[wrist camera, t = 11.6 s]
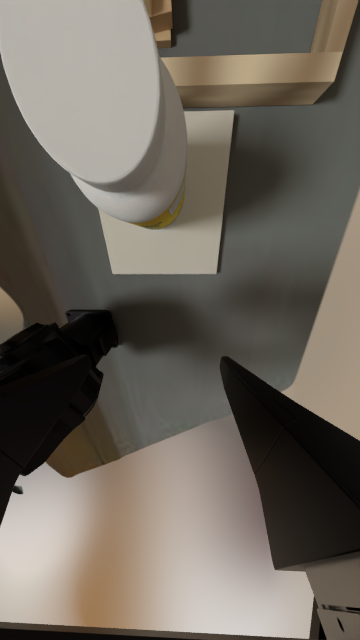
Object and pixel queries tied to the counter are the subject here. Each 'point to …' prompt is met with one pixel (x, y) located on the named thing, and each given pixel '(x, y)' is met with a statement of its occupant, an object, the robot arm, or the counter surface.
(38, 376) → the robot arm
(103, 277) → the counter surface
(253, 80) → the birch rack
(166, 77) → the pill bottle
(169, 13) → the offcut stack
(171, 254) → the pale grey mat
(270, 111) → the counter surface
